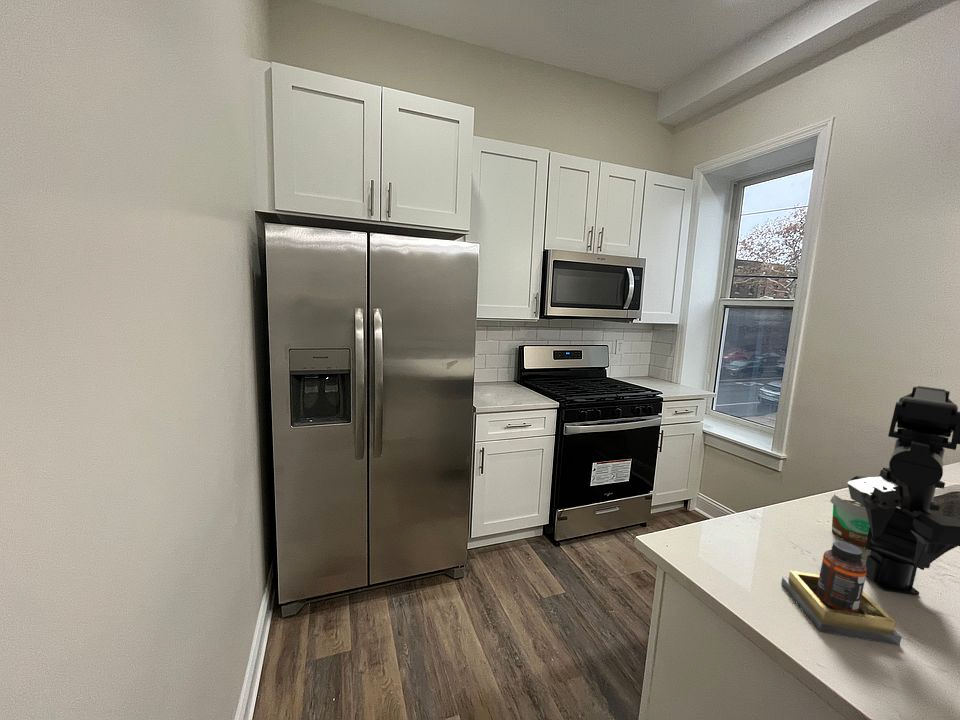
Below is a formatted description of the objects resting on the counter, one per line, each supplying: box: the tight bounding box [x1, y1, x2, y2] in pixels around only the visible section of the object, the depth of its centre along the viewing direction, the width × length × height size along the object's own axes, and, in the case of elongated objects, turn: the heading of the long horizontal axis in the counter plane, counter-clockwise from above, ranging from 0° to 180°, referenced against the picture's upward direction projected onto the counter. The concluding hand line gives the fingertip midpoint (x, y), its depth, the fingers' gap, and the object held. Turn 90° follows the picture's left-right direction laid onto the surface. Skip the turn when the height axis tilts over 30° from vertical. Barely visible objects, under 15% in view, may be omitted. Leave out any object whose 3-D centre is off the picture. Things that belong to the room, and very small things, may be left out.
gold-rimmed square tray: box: [780, 570, 903, 646], centre depth 74 cm, size 12×12×4 cm
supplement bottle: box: [817, 540, 867, 613], centre depth 73 cm, size 6×6×11 cm
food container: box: [829, 493, 870, 548], centre depth 95 cm, size 12×6×10 cm, turn 68°
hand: (895, 550), depth 72 cm, fingers open, 9 cm apart
